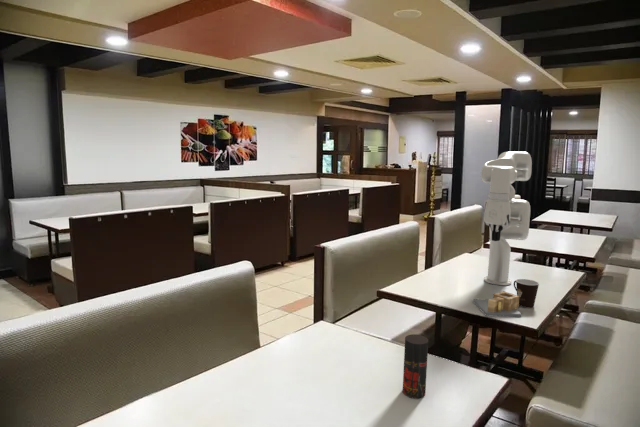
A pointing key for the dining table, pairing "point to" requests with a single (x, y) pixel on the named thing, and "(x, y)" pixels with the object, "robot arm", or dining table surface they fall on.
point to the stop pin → (499, 307)
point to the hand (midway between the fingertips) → (495, 240)
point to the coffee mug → (526, 292)
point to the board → (483, 307)
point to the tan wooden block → (503, 302)
